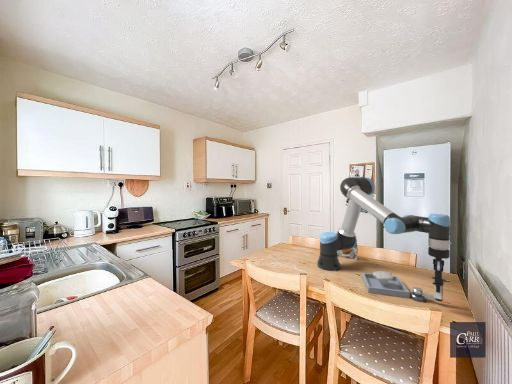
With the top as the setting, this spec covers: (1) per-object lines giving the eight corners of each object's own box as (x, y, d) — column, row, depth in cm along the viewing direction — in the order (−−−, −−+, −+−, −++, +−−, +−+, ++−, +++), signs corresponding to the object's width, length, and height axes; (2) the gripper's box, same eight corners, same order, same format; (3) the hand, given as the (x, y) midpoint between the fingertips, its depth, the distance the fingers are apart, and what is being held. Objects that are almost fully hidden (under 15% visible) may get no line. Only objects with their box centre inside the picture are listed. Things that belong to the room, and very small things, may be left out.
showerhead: (398, 276, 116) (380, 277, 115) (397, 289, 117) (380, 290, 116) (386, 269, 126) (369, 269, 125) (385, 281, 126) (369, 282, 125)
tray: (368, 292, 114) (368, 287, 114) (362, 277, 132) (362, 272, 132) (409, 298, 109) (409, 292, 109) (397, 281, 127) (397, 276, 127)
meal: (336, 256, 169) (336, 240, 168) (337, 255, 172) (337, 239, 172) (356, 261, 160) (356, 243, 159) (357, 259, 163) (358, 242, 163)
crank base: (412, 300, 106) (413, 297, 106) (408, 294, 112) (408, 291, 112) (427, 302, 104) (427, 298, 104) (421, 296, 110) (422, 292, 110)
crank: (412, 294, 108) (412, 274, 107) (412, 291, 111) (413, 271, 110) (445, 303, 100) (446, 281, 99) (445, 299, 103) (445, 278, 102)
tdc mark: (442, 302, 104) (442, 301, 104) (440, 301, 106) (440, 300, 106) (449, 303, 104) (449, 302, 104) (448, 302, 105) (448, 301, 105)
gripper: (450, 252, 91) (449, 307, 92) (449, 246, 101) (448, 295, 102) (427, 249, 96) (426, 301, 97) (428, 243, 106) (428, 290, 107)
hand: (437, 298), depth 99 cm, fingers closed
